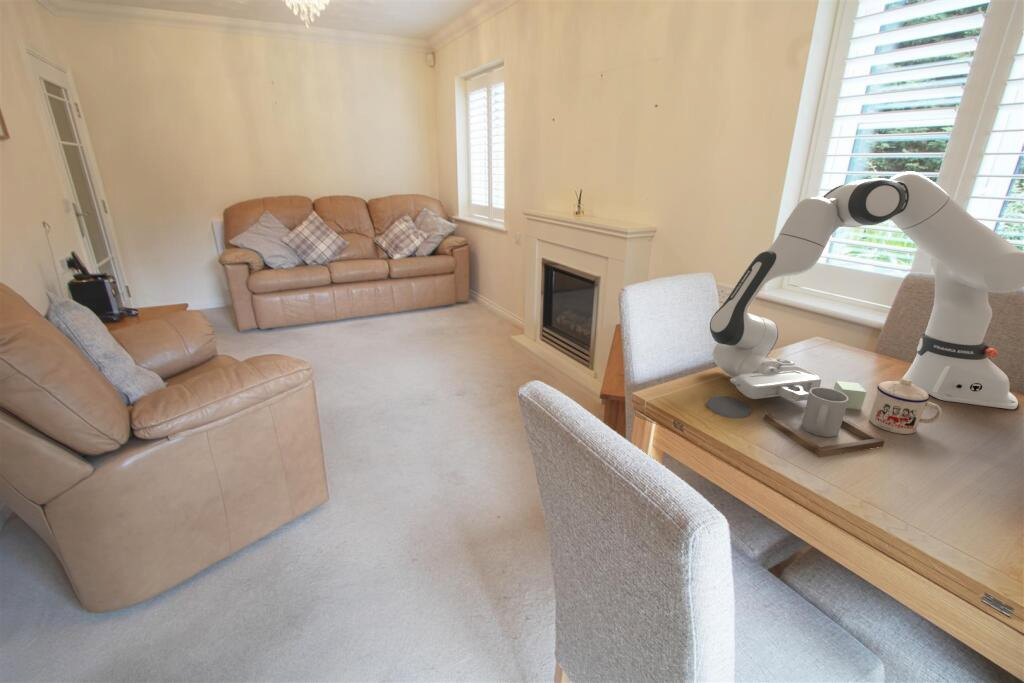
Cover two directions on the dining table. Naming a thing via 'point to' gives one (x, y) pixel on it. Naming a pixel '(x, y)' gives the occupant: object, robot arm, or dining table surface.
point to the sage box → (852, 393)
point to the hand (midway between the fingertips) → (803, 398)
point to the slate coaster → (728, 407)
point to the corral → (819, 451)
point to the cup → (824, 411)
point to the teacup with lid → (901, 407)
